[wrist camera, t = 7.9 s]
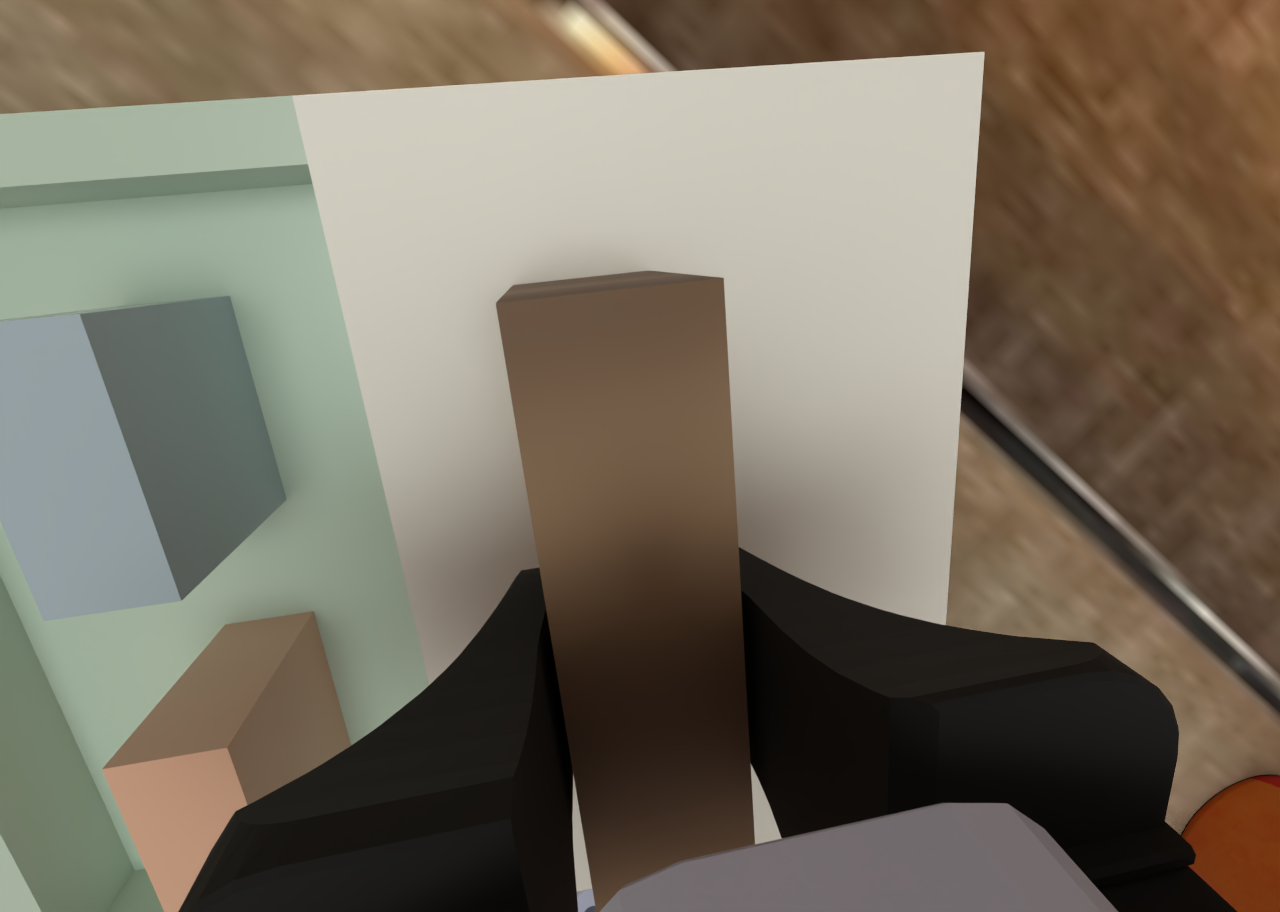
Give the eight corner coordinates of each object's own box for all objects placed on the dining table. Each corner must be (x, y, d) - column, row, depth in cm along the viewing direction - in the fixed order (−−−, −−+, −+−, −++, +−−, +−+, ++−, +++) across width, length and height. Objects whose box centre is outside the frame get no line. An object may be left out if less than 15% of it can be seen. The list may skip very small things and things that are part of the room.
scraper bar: (694, 780, 15) (764, 1010, 11) (593, 801, 15) (618, 1046, 10) (649, 270, 12) (724, 277, 7) (513, 284, 11) (495, 303, 7)
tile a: (293, 933, 12) (183, 955, 12) (355, 760, 17) (275, 774, 16) (227, 747, 11) (101, 769, 11) (313, 611, 15) (224, 624, 15)
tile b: (181, 600, 10) (43, 621, 10) (286, 499, 14) (192, 511, 14) (78, 314, 9) (-84, 329, 8) (229, 296, 13) (123, 305, 13)
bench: (876, 735, 20) (932, 814, 17) (490, 812, 19) (482, 912, 16) (896, 92, 14) (985, 51, 12) (345, 131, 13) (291, 95, 10)
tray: (490, 812, 19) (482, 912, 16) (120, 885, 17) (39, 1007, 14) (345, 131, 13) (291, 95, 10) (-215, 171, 12) (-454, 143, 9)
